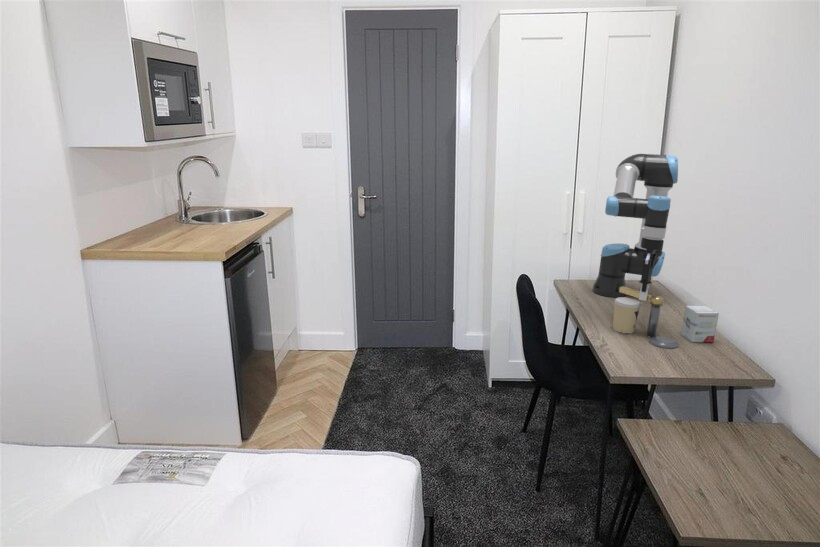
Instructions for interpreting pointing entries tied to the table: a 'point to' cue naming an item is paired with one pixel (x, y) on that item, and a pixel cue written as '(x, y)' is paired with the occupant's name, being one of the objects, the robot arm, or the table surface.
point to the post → (653, 320)
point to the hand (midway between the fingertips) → (642, 299)
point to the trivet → (663, 342)
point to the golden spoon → (651, 298)
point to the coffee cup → (625, 314)
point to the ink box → (699, 324)
